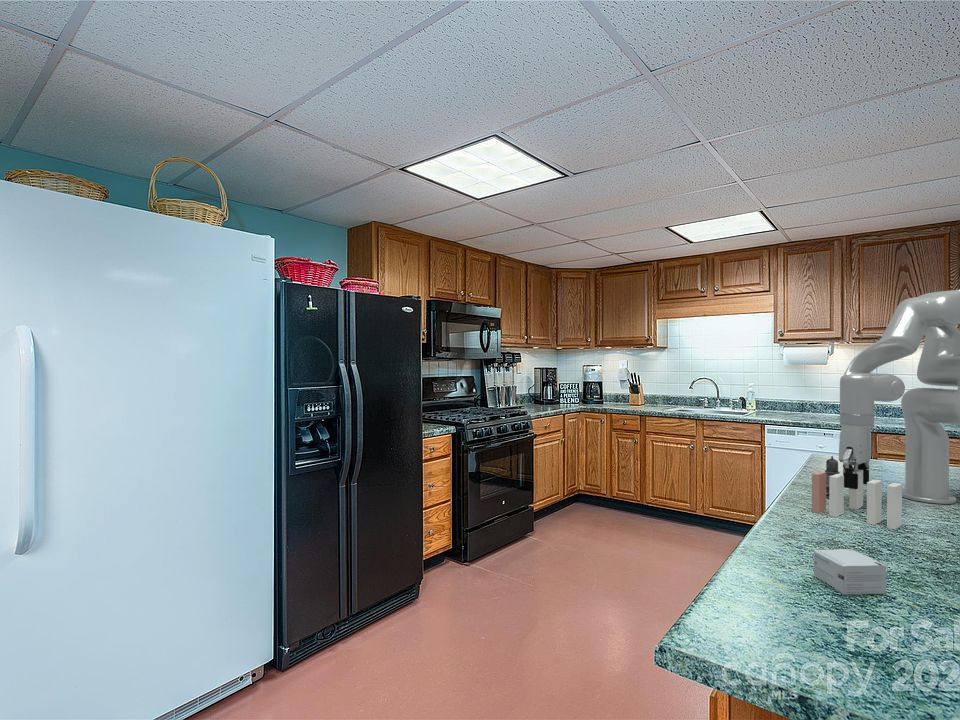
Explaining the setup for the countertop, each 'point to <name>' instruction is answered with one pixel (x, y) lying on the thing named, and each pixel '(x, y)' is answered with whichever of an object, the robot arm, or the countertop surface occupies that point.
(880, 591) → the small box
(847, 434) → the robot arm
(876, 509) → the domino
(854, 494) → the domino
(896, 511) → the domino
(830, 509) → the domino
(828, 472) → the dark grey ornamental finial
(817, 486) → the end domino
